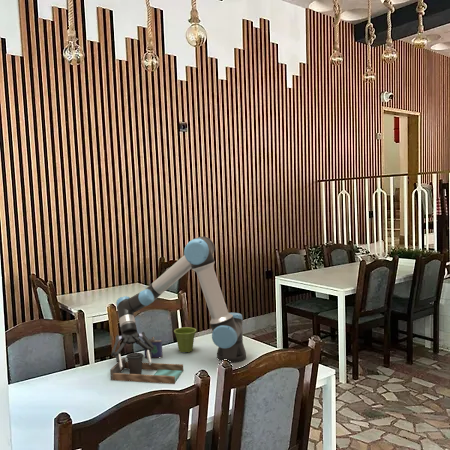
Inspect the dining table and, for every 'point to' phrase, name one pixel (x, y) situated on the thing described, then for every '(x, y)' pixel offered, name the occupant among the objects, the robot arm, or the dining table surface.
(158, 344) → the flask
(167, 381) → the tray
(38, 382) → the dining table surface
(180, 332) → the plant pot
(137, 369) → the coffee cup
